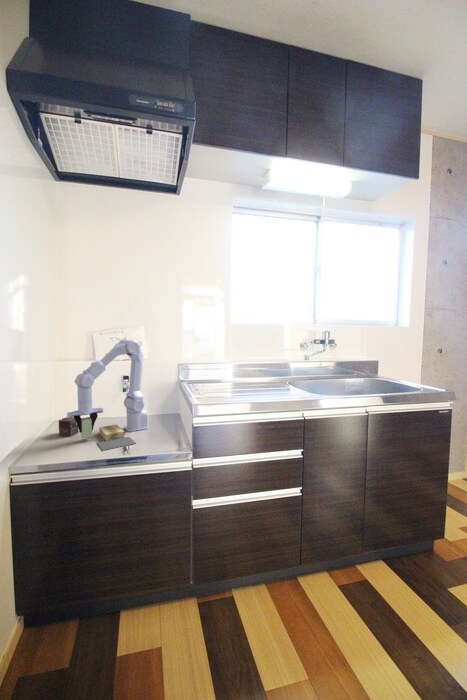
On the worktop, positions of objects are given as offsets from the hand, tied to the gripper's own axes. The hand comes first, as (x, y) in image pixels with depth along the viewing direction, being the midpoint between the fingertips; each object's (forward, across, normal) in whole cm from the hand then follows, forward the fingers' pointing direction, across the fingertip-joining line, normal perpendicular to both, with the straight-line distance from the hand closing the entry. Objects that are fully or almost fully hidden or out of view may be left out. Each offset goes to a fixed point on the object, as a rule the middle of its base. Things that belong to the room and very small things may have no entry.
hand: (86, 430), depth 148 cm
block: (+2, 0, 0) cm, 2 cm away
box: (+5, -5, +13) cm, 15 cm away
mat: (+4, +10, -11) cm, 16 cm away
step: (+4, +11, 0) cm, 12 cm away
